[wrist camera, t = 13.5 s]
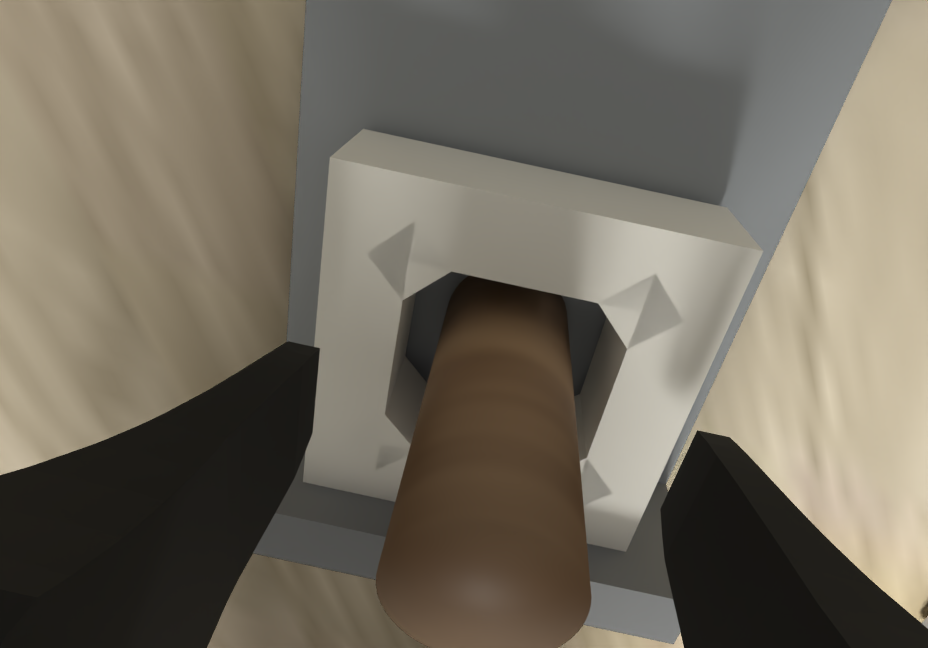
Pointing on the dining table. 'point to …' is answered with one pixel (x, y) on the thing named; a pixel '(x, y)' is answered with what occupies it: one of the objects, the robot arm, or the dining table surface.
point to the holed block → (527, 265)
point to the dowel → (492, 483)
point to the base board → (571, 151)
